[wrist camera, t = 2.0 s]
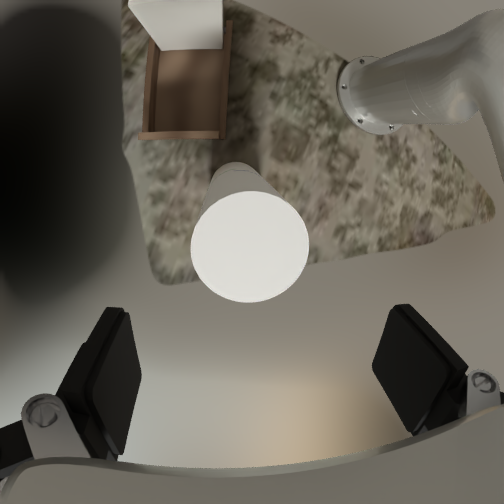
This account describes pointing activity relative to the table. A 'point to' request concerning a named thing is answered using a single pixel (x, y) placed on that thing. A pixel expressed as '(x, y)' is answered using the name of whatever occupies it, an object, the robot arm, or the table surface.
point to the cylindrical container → (247, 237)
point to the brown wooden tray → (186, 92)
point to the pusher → (181, 22)
